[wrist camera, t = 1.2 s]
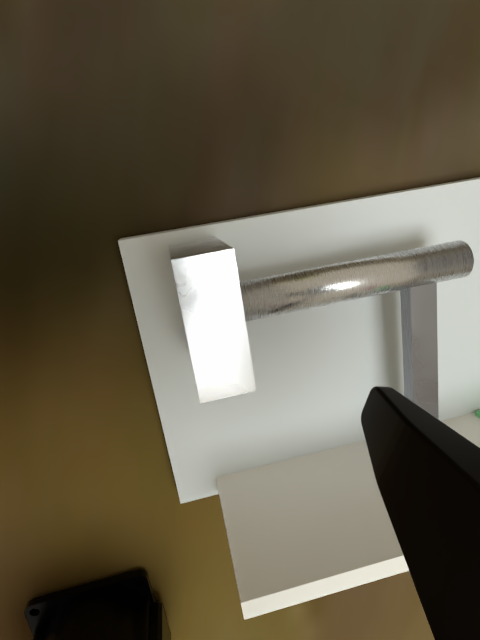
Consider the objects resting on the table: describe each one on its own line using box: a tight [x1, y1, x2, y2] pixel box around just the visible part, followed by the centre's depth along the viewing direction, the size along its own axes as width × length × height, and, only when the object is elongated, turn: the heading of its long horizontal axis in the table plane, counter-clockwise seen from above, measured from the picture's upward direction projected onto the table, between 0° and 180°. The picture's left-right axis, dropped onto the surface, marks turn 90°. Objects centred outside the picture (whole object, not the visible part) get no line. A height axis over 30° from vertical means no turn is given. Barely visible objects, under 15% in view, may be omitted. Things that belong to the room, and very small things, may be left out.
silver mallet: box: [168, 237, 474, 420], centre depth 17 cm, size 12×11×6 cm
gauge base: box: [118, 177, 480, 620], centre depth 18 cm, size 26×13×8 cm, turn 98°
